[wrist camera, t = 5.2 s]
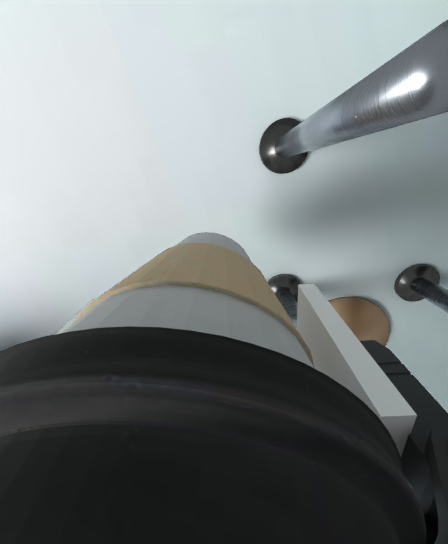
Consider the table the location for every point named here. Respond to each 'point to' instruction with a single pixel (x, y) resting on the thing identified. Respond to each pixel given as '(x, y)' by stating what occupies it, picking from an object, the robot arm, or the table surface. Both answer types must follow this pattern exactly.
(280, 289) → the pole corner
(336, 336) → the robot arm
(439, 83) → the pole outer
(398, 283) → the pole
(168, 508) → the coffee cup
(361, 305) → the coaster
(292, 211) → the table surface
